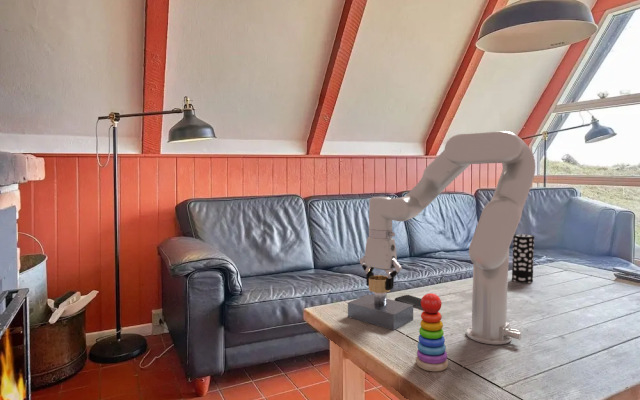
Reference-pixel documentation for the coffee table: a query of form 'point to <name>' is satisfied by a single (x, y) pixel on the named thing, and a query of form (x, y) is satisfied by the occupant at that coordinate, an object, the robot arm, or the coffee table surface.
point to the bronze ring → (378, 284)
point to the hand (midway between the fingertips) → (379, 286)
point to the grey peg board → (380, 311)
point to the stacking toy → (431, 336)
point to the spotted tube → (523, 258)
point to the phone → (410, 300)
